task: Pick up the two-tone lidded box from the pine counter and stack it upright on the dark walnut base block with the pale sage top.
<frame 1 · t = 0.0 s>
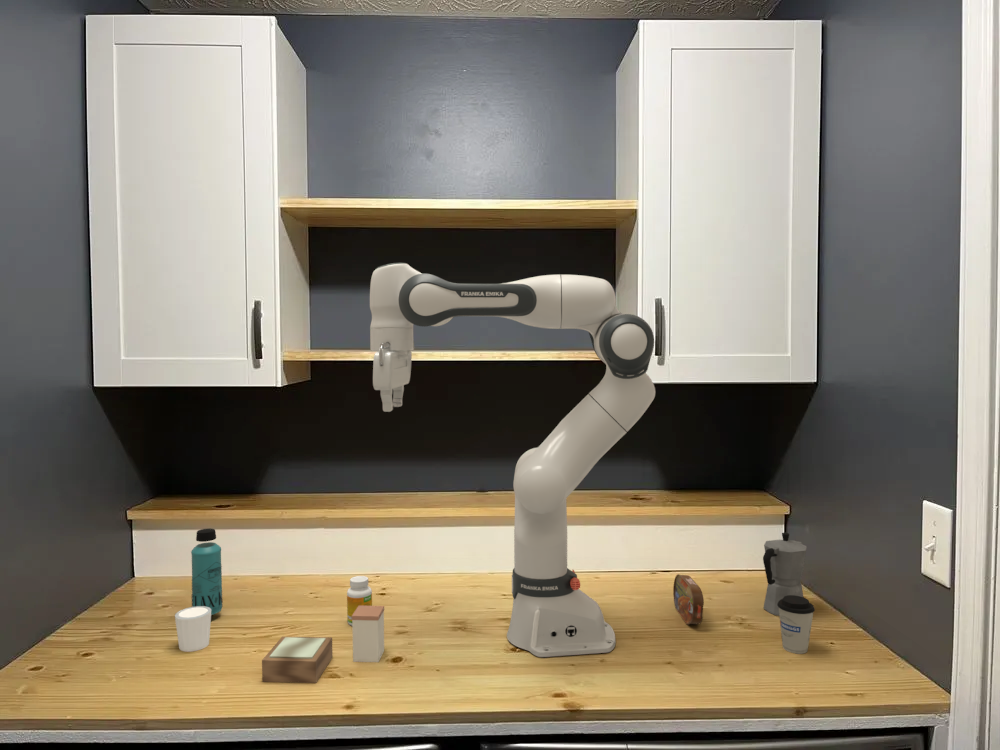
hand: (392, 408, 143), 48 cm above the worktop, fingers open, 8 cm apart
tin: (688, 617, 154), on the worktop
supplement bottle: (359, 622, 152), on the worktop
coffeepot: (781, 612, 156), on the worktop
coffee cup: (795, 649, 138), on the worktop
beverage bottle: (208, 618, 155), on the worktop
two-tone lidded box: (368, 655, 135), on the worktop
base: (298, 669, 130), on the worktop
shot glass: (194, 646, 141), on the worktop
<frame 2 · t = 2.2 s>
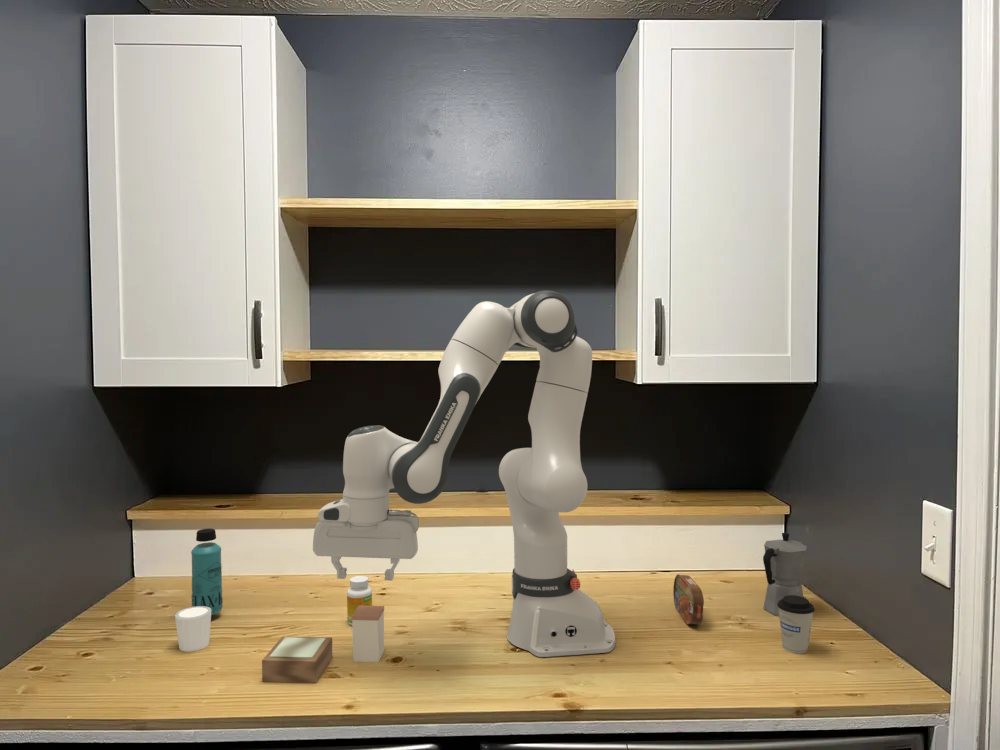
hand: (365, 578, 135), 16 cm above the worktop, fingers open, 8 cm apart
nothing on the worktop moved.
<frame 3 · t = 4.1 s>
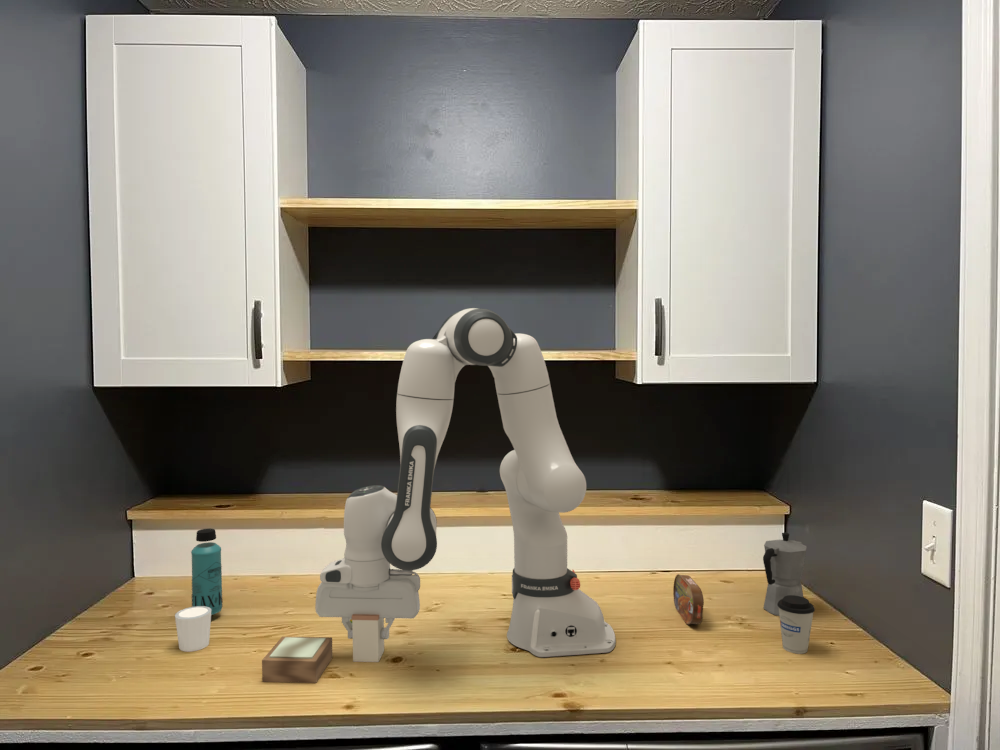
hand: (368, 637, 135), 4 cm above the worktop, fingers closed on two-tone lidded box, 5 cm apart
two-tone lidded box: (368, 655, 135), on the worktop, touching gripper
everything else where it was.
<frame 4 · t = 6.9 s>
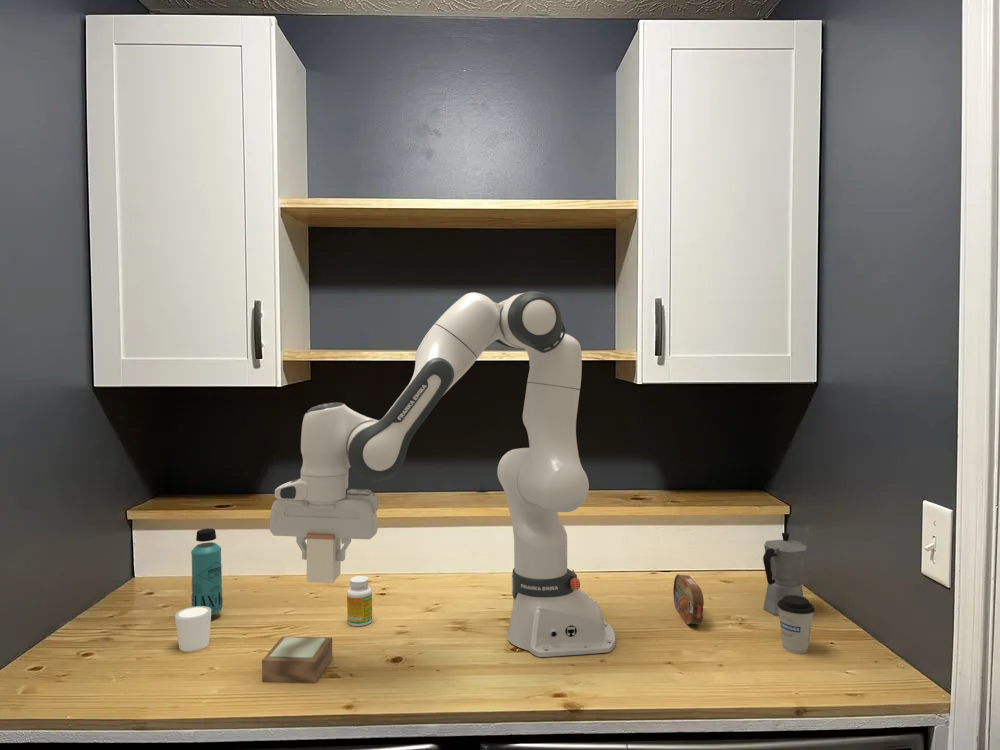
hand: (323, 559, 131), 20 cm above the worktop, fingers closed on two-tone lidded box, 5 cm apart
two-tone lidded box: (323, 578, 131), point 17 cm above the worktop, touching gripper
everything else where it was.
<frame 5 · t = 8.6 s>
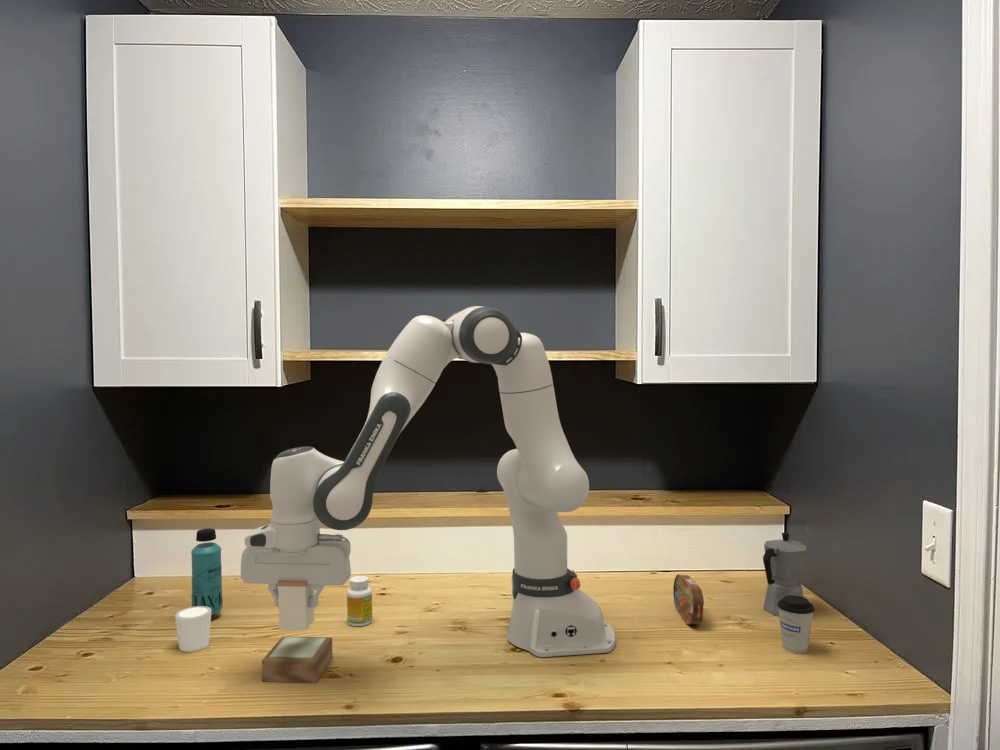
hand: (296, 606, 129), 12 cm above the worktop, fingers closed on two-tone lidded box, 5 cm apart
two-tone lidded box: (297, 624, 130), point 9 cm above the worktop, touching gripper
everything else where it was.
when the fingers open (9 cm above the worktop, at t = 10.0 s): two-tone lidded box drops 1 cm, resting on base.
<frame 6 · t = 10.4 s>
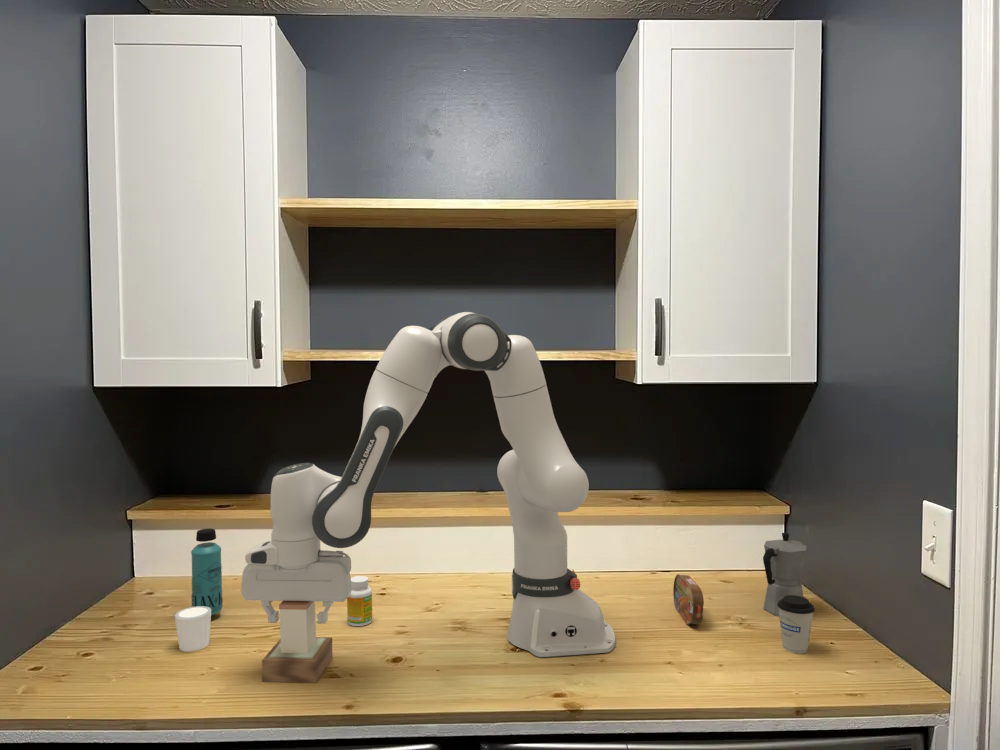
hand: (297, 622, 130), 9 cm above the worktop, fingers open, 8 cm apart
two-tone lidded box: (298, 646, 130), point 4 cm above the worktop, touching base
everything else where it was.
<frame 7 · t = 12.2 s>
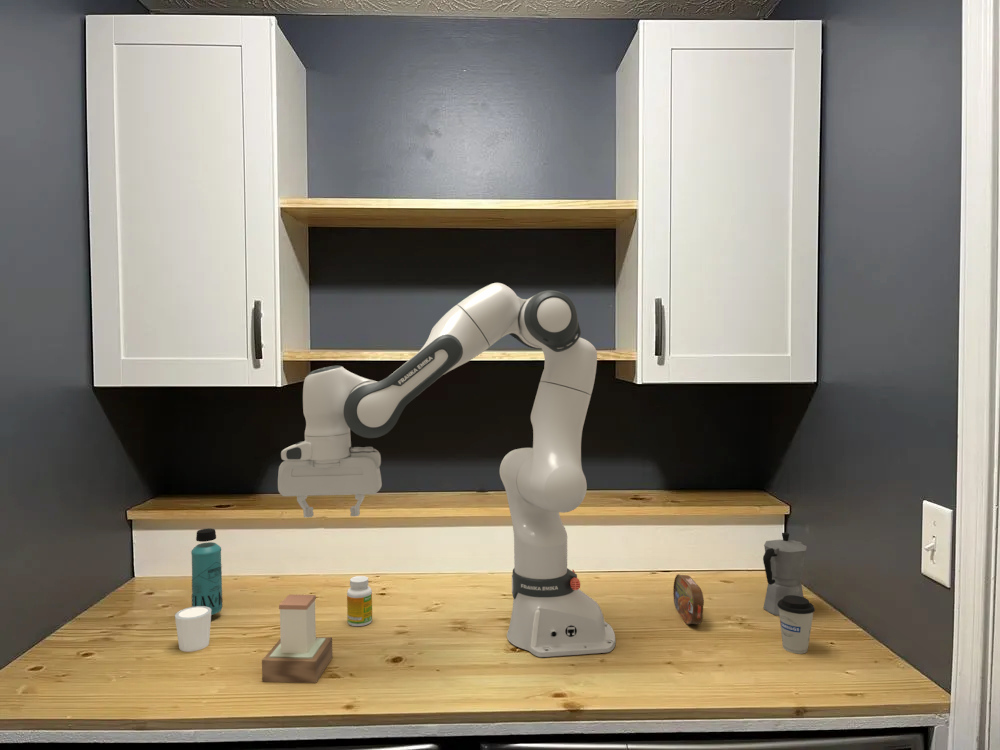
hand: (331, 516, 137), 27 cm above the worktop, fingers open, 8 cm apart
nothing on the worktop moved.
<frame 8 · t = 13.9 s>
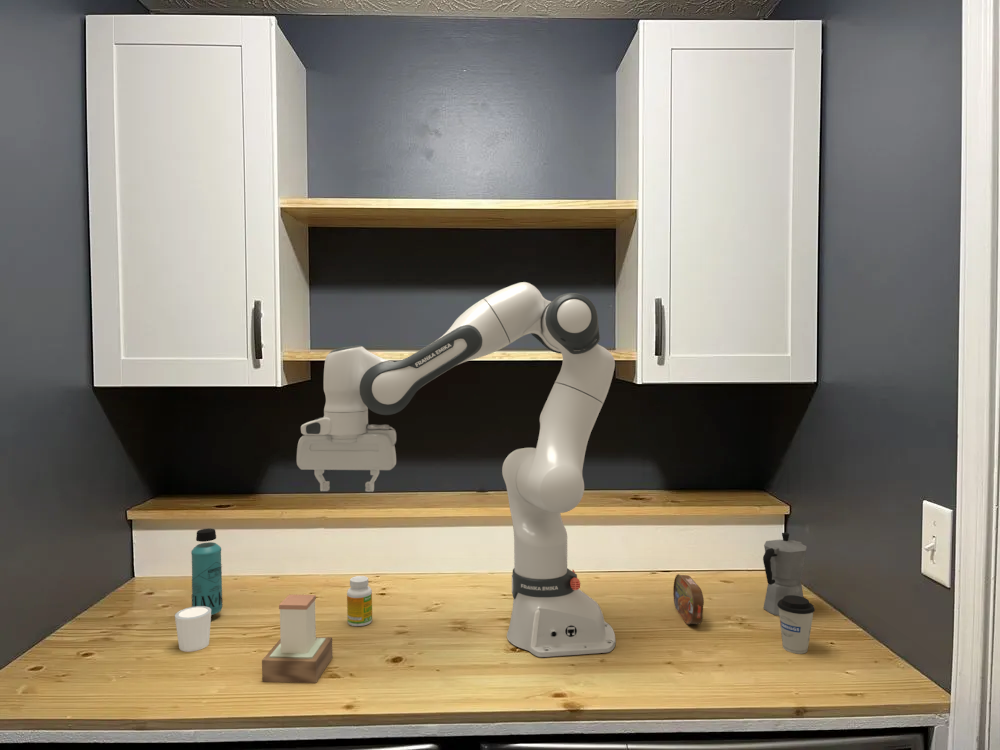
hand: (347, 490, 142), 31 cm above the worktop, fingers open, 8 cm apart
nothing on the worktop moved.
at the end: two-tone lidded box inside the target area on the base (0.1 cm from its centre), point 4.3 cm above the base's base; two-tone lidded box tilted 0°; the gripper is holding nothing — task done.
